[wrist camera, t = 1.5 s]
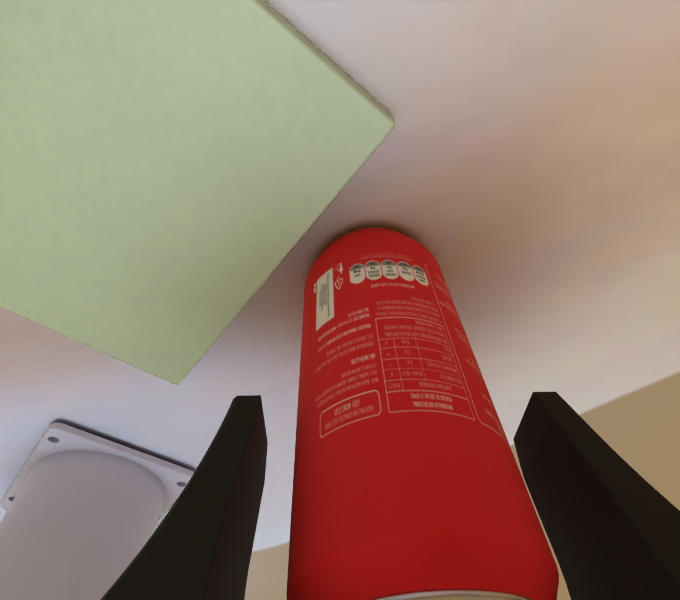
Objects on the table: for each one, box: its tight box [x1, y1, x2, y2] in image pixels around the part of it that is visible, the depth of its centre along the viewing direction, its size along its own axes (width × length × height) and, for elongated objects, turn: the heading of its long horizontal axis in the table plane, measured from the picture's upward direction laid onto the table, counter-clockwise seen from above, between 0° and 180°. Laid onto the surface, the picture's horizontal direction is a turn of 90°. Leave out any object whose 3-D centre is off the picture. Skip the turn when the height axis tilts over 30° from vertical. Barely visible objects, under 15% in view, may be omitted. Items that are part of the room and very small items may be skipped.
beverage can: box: [287, 227, 559, 600], centre depth 13 cm, size 5×5×12 cm
